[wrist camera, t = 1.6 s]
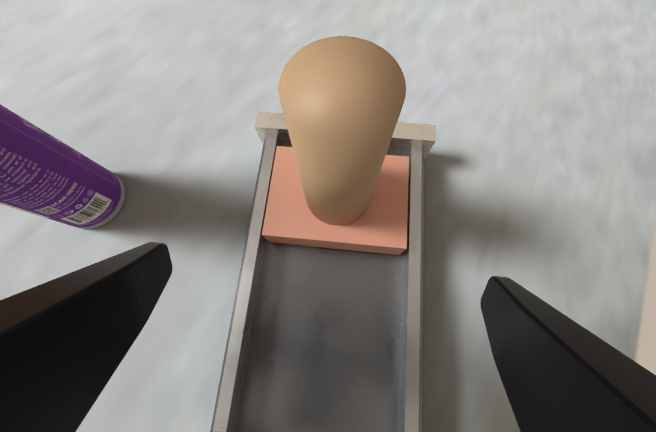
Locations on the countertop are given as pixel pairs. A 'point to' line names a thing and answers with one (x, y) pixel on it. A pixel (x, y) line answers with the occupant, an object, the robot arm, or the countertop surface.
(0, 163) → the container
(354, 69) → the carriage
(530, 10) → the countertop surface
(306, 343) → the slide base
